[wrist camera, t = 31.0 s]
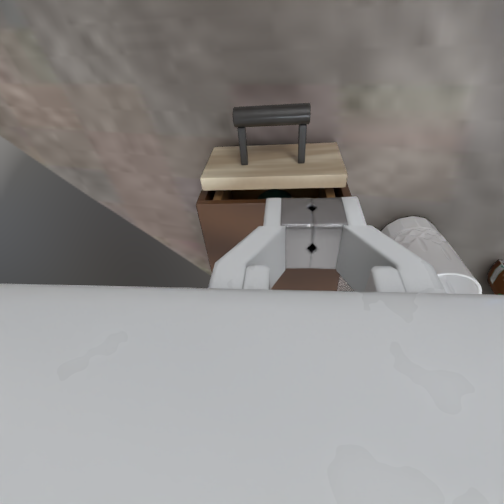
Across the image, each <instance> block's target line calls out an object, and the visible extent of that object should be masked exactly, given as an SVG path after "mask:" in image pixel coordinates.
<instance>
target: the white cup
mask: <svg viewBox="0 0 504 504" xmlns="http://www.w3.org/2000/svg"><path fill="white" fill-rule="evenodd" d="M381 232H382V233H384V234H385V235H387V236H388V237H390V238H391V239H393V240H394V241H396V242H397V243H399V244H400V245H402V246H403V247H405V248H406V249H408V250H410V251H411V252H413V253H414V254H416V255H417V256H419V257H420V258H422V259H423V260H425V261H426V262H428V263H429V264H431V265H432V266H433V267H434V269H435V271H436V273H437V275H438V277H439V279H440V281H441V283H442V285H443V287H444V289H445V291H446V293H447V294H482V288H481V285H480V284H479V282H478V281H477V280H476V278H475V277H474V276H473V274H472V273H471V272H470V270H469V269H468V268H467V266H466V265H465V264H464V262H463V261H462V260H461V258H460V257H459V256H458V254H457V253H456V252H455V250H454V249H453V248H452V247H451V246H450V244H449V243H448V242H447V240H446V239H445V238H444V237H443V236H442V235H441V234H440V233H439V231H438V230H437V229H436V227H435V226H434V225H433V224H432V223H431V222H429V221H428V220H427V219H426V218H421V217H415V216H411V217H405V218H400V219H397V220H396V221H394V222H392V223H390V224H388V225H387V226H386V227H385V228H384V229H383V230H382V231H381Z"/></svg>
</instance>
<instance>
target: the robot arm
mask: <svg viewBox="0 0 504 504" xmlns="http://www.w3.org/2000/svg"><path fill="white" fill-rule="evenodd" d="M287 268H318V269H336V271H337V272H338V273H339V274H340V275H341V277H342V278H343V279H344V280H345V281H346V282H347V283H348V285H349V286H350V287H351V288H352V289H353V290H354V291H309V290H271V288H272V287H273V285H274V284H275V283H276V282H277V280H278V279H279V278H280V276H281V275H282V274H283V272H284V271H285V269H287ZM0 504H504V295H491V294H447V293H446V291H445V289H444V287H443V285H442V283H441V281H440V279H439V277H438V275H437V273H436V271H435V269H434V267H433V266H432V265H431V264H429V263H428V262H426V261H425V260H423V259H422V258H420V257H419V256H417V255H416V254H414V253H413V252H411V251H410V250H408V249H406V248H405V247H403V246H402V245H400V244H399V243H397V242H396V241H394V240H393V239H391V238H390V237H388V236H387V235H385V234H384V233H382V232H381V231H379V230H378V229H376V228H375V227H373V226H372V225H367V224H366V221H365V218H364V215H363V212H362V209H361V206H360V203H359V200H358V197H356V196H353V197H334V198H282V200H281V198H267V199H266V204H265V214H264V223H263V226H258V227H257V228H256V229H255V230H254V231H253V232H251V233H250V234H249V235H248V236H247V237H245V238H244V239H243V240H242V241H241V242H239V243H238V244H237V245H236V246H235V247H233V248H232V249H231V250H230V251H229V252H227V253H226V254H225V255H224V256H223V257H221V258H220V259H219V260H218V261H217V262H215V264H214V268H213V272H212V275H211V279H210V283H209V286H208V288H172V287H130V286H128V287H127V286H85V285H41V284H0Z"/></svg>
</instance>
